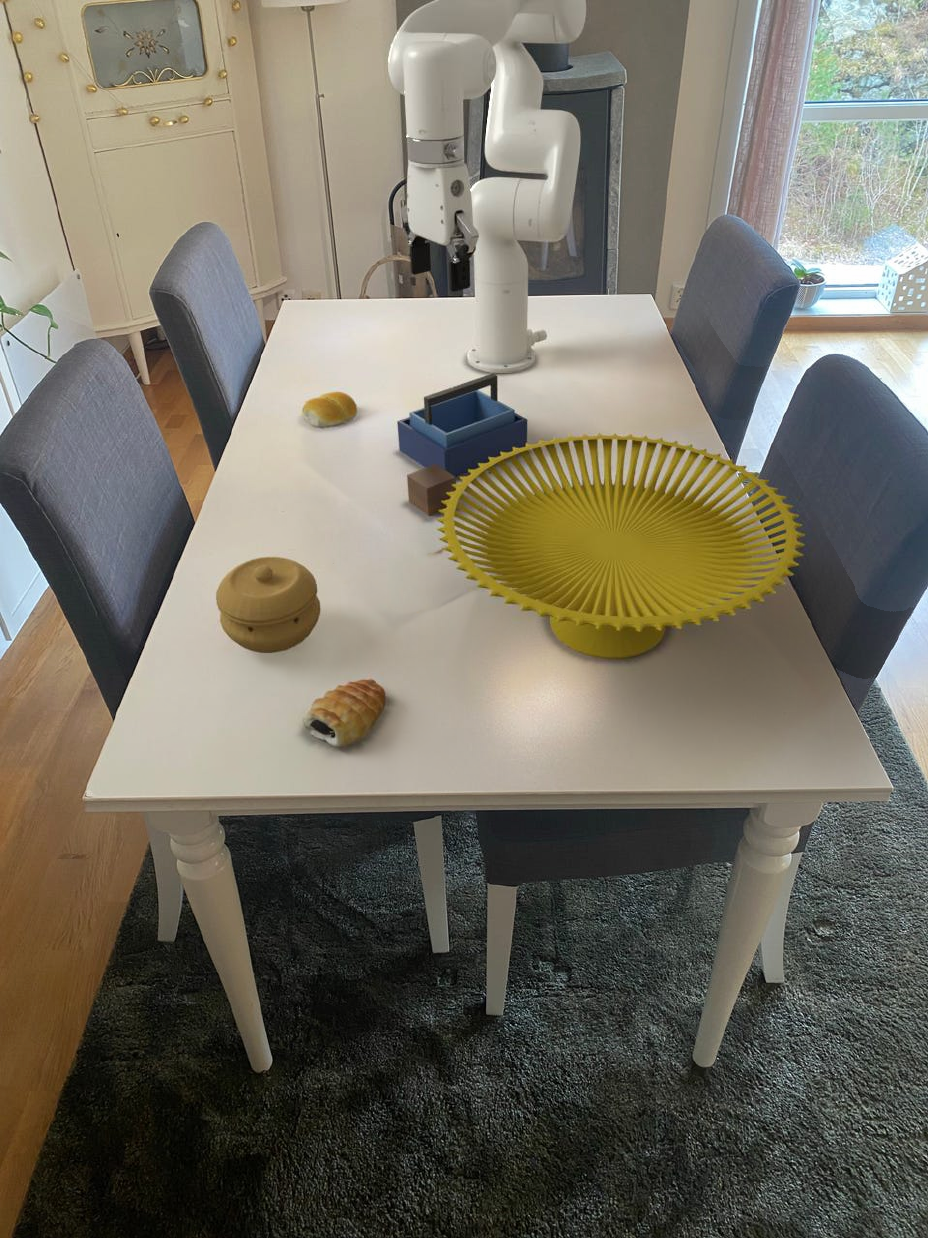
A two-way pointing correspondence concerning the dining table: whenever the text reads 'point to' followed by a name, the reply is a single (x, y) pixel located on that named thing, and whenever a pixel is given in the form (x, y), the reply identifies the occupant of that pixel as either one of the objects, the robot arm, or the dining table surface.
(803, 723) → the dining table surface
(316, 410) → the bread roll
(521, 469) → the yellow fruit bowl
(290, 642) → the pot
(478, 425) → the upper bin
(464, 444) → the lower bin
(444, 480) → the block
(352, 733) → the pastry
